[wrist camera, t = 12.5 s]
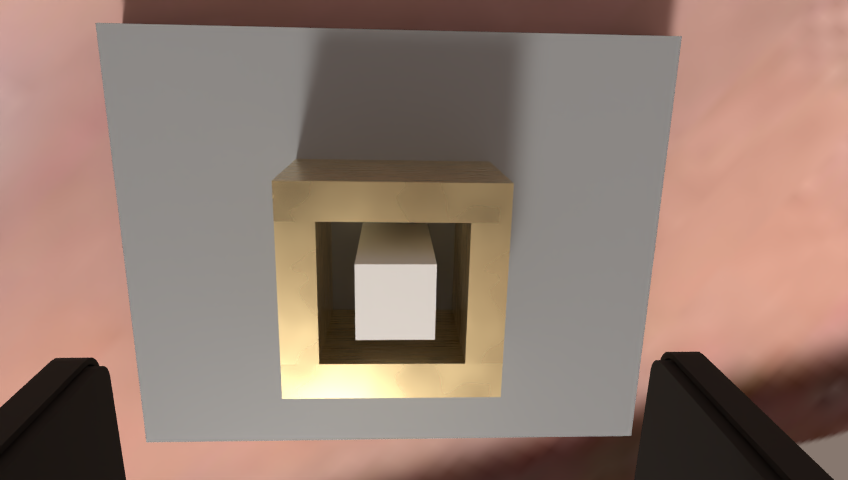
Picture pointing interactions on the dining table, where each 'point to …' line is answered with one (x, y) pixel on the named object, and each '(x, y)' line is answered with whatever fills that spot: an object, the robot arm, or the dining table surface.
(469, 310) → the collar
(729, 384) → the robot arm
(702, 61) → the dining table surface
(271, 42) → the post stand
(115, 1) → the dining table surface
